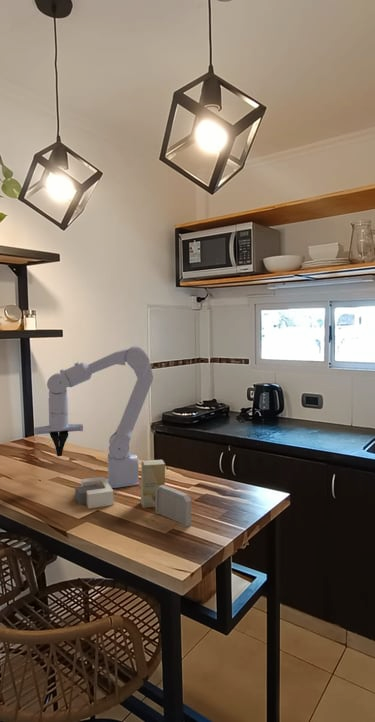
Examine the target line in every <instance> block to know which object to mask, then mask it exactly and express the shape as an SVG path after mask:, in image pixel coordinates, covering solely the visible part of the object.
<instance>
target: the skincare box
mask: <svg viewBox="0 0 375 722" xmlns="http://www.w3.org/2000/svg"><path fill="white" fill-rule="evenodd" d="M140 470H141V471H140V472H141V473H140V479H141V481H140V503H141V507H142V508H155V490H156V489H157V487H158V486H161V485H165V486H166V463H165V461H164V460H163V459H150V460H141V468H140Z"/></svg>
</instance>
